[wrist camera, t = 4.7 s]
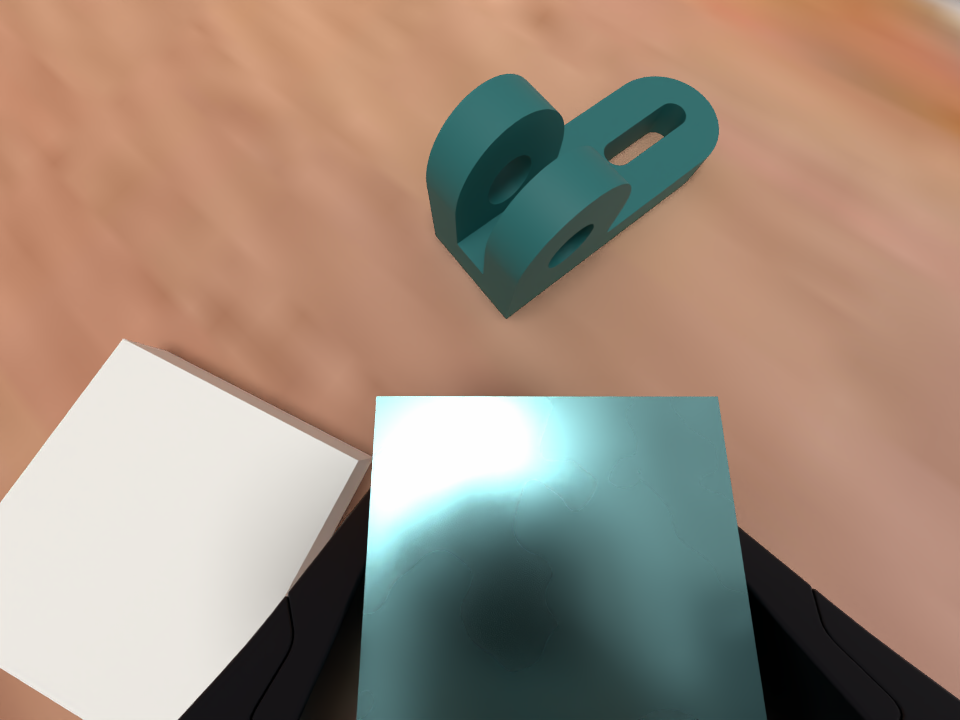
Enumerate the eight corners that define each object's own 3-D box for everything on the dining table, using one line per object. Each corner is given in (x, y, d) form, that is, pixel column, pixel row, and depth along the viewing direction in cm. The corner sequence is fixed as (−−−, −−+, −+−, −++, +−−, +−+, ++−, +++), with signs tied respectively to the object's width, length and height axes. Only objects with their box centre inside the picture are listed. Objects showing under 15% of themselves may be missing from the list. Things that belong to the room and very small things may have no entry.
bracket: (505, 320, 20) (527, 249, 12) (436, 237, 21) (416, 124, 14) (716, 160, 23) (840, 21, 15) (645, 93, 24) (727, -68, 16)
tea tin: (574, 566, 15) (783, 826, 5) (431, 568, 14) (349, 840, 5) (566, 421, 16) (717, 396, 6) (435, 422, 16) (376, 396, 6)
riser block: (236, 718, 16) (184, 782, 13) (11, 584, 17) (-85, 615, 14) (376, 456, 19) (358, 460, 16) (175, 353, 20) (123, 338, 17)
